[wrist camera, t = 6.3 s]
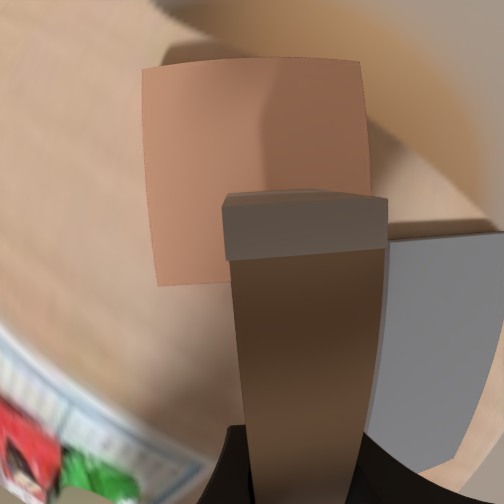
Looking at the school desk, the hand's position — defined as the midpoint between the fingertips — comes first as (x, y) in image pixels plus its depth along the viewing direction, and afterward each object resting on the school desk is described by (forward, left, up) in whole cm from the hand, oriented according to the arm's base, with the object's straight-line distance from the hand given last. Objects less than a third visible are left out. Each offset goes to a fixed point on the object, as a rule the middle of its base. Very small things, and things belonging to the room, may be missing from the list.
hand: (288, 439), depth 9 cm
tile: (+4, 0, -6) cm, 7 cm away
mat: (-5, -11, -6) cm, 14 cm away
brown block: (0, 0, -2) cm, 2 cm away
